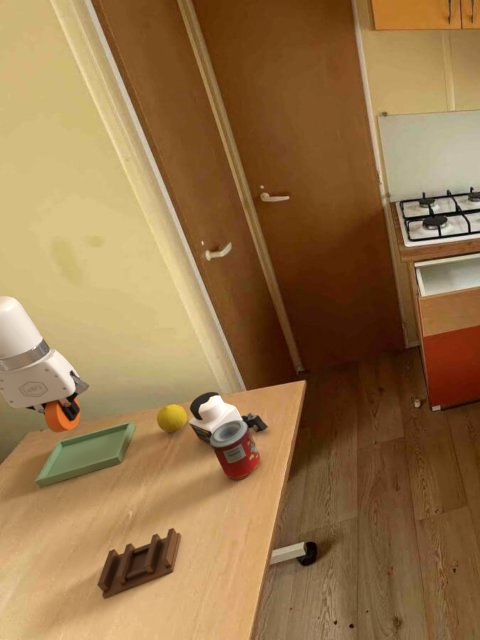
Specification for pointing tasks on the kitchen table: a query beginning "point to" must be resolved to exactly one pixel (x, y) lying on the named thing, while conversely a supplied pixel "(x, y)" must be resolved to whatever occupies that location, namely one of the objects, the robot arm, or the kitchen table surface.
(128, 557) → the rack
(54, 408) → the disc
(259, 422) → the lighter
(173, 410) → the lemon
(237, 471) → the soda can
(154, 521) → the kitchen table surface
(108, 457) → the tray
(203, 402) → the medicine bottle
